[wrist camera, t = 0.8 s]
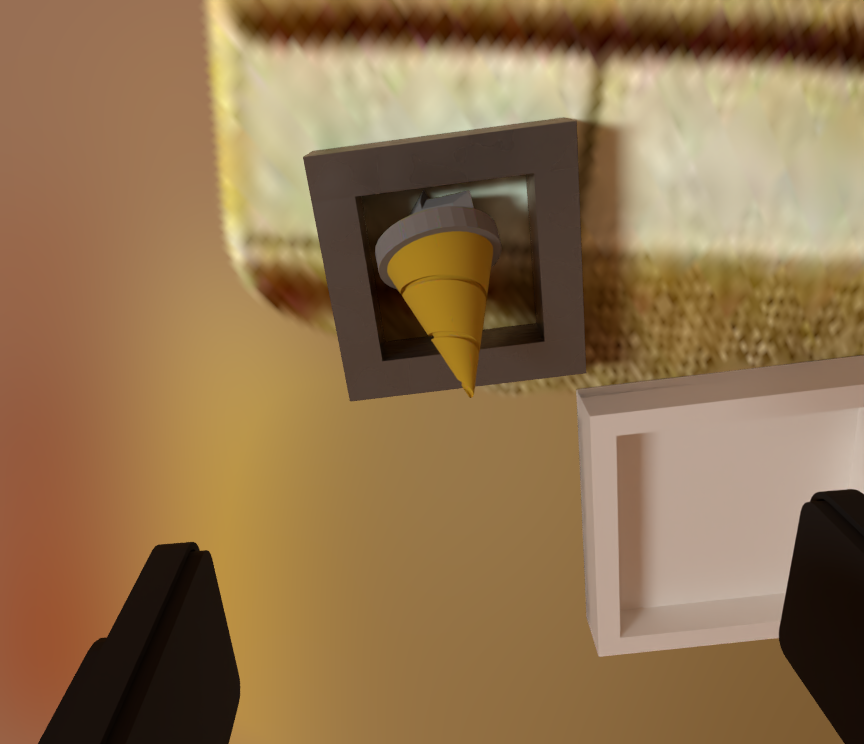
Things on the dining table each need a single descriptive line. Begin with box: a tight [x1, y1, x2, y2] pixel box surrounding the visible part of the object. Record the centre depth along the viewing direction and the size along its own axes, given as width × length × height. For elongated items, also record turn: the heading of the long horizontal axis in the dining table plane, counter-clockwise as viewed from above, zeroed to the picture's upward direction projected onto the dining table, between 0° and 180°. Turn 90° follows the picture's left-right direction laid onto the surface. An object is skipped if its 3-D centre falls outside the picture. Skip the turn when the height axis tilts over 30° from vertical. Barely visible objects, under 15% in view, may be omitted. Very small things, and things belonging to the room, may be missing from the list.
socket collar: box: [303, 118, 586, 401], centre depth 30 cm, size 11×11×2 cm
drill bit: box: [375, 190, 501, 398], centre depth 29 cm, size 5×5×10 cm
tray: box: [576, 355, 864, 657], centre depth 36 cm, size 15×15×3 cm
